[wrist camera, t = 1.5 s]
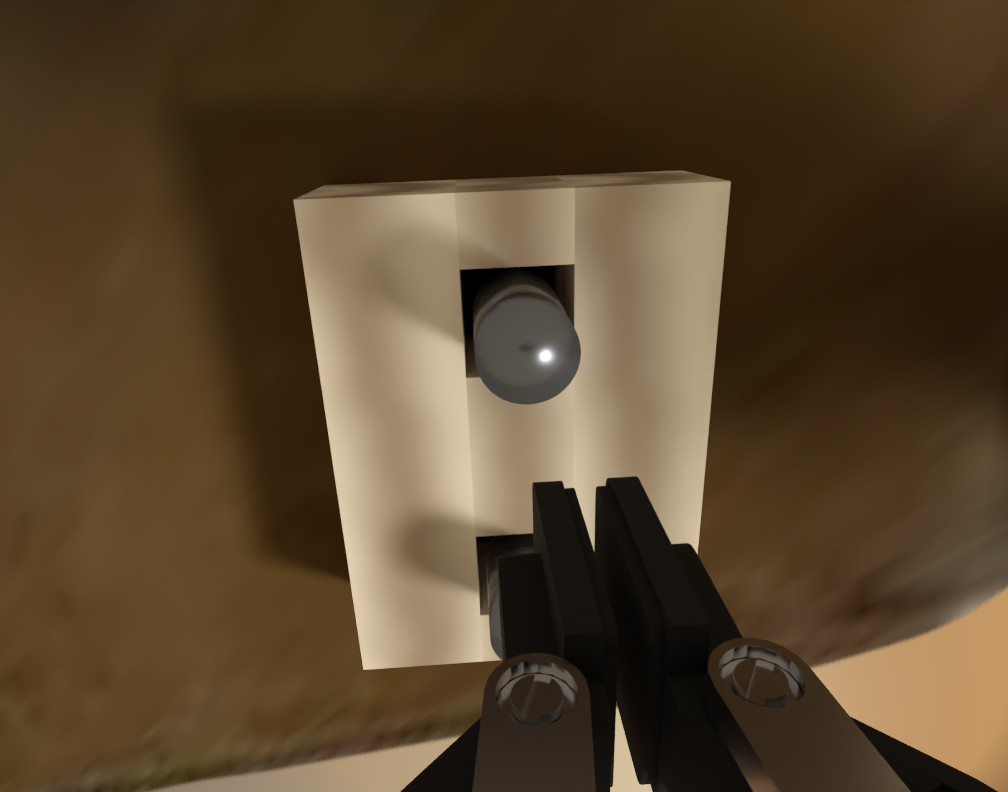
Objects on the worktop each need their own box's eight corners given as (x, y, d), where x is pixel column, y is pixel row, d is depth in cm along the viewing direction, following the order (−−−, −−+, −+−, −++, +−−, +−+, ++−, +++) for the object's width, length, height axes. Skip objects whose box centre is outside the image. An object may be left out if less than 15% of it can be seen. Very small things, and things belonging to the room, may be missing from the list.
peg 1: (558, 267, 27) (581, 300, 22) (559, 351, 28) (580, 401, 23) (470, 271, 27) (471, 306, 22) (474, 356, 28) (477, 407, 23)
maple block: (681, 170, 30) (730, 181, 25) (656, 571, 39) (689, 646, 33) (324, 185, 30) (293, 199, 24) (377, 589, 38) (363, 669, 32)
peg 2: (559, 520, 32) (578, 596, 27) (560, 582, 33) (578, 666, 28) (483, 525, 32) (488, 602, 26) (487, 587, 33) (491, 672, 28)
